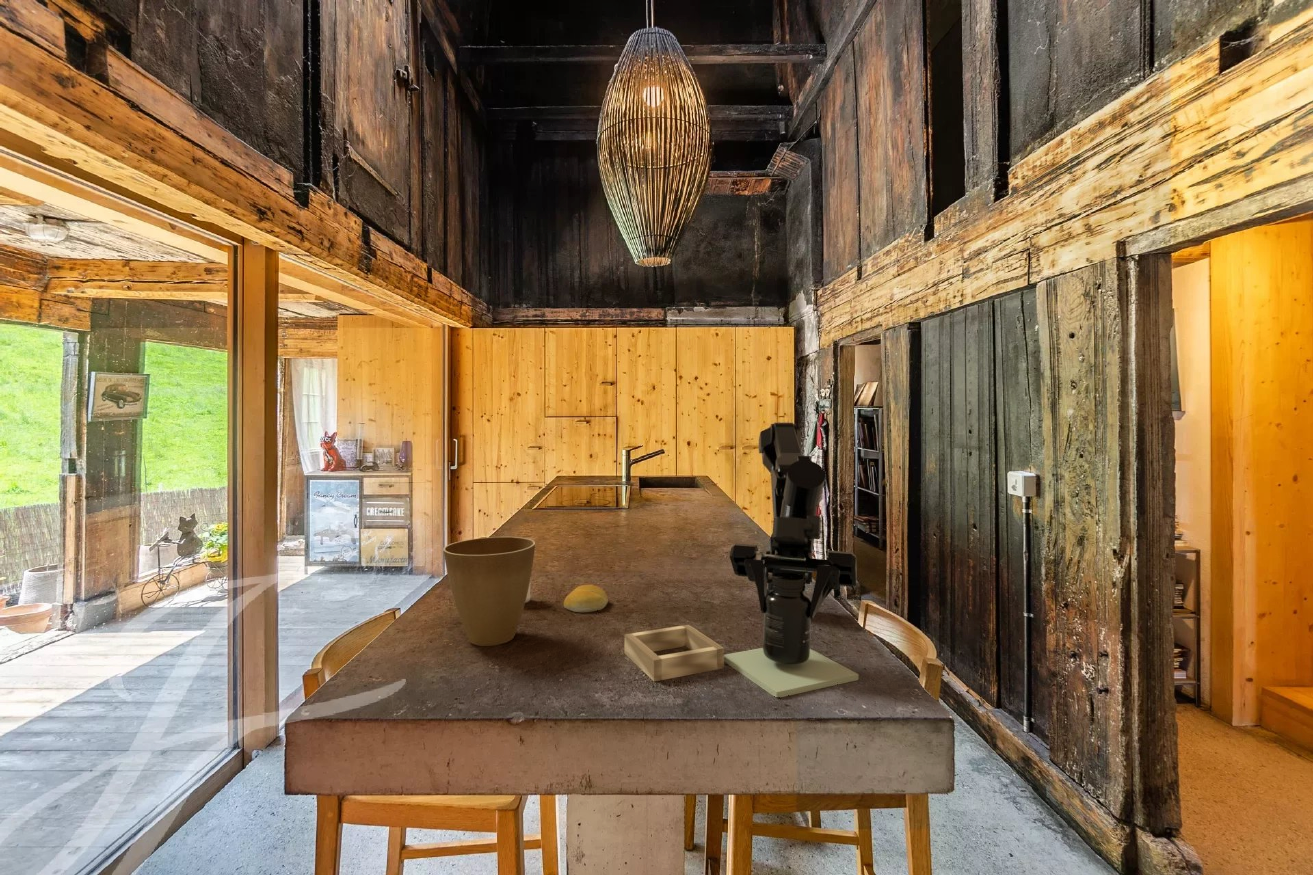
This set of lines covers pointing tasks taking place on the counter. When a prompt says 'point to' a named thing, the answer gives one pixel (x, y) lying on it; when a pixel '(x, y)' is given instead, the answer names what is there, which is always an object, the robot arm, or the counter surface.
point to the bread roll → (586, 599)
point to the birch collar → (668, 666)
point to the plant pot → (490, 585)
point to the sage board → (789, 672)
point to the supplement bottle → (787, 620)
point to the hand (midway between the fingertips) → (786, 614)
